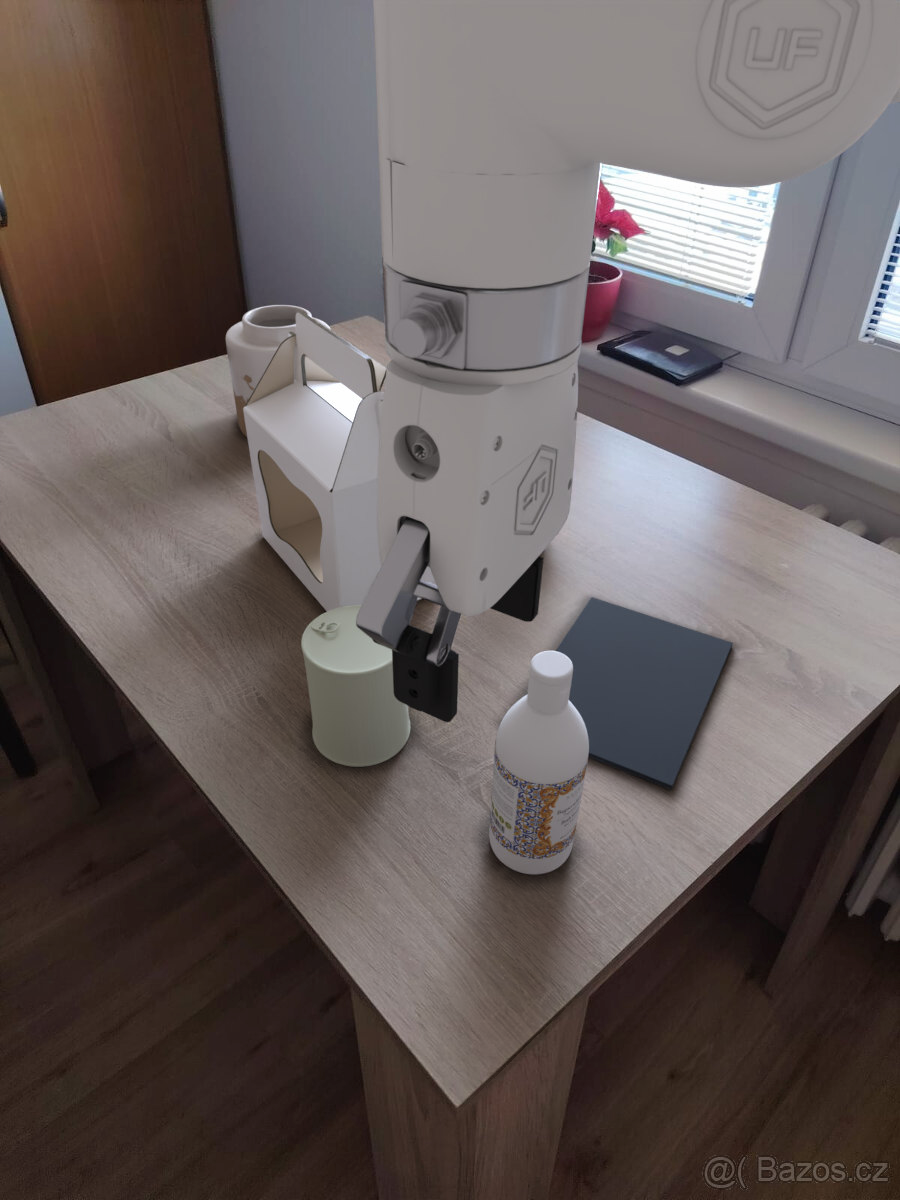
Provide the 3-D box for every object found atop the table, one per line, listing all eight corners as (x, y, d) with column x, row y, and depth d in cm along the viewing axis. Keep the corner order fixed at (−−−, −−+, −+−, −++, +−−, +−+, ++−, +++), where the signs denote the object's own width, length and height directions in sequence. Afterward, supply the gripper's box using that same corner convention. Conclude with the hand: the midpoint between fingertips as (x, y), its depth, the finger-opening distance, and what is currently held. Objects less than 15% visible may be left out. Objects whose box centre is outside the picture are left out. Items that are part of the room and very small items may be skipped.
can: (341, 684, 83) (333, 590, 75) (426, 711, 80) (425, 615, 73) (294, 749, 76) (279, 652, 69) (384, 780, 73) (378, 682, 66)
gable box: (445, 592, 95) (448, 357, 78) (343, 632, 89) (322, 387, 72) (354, 505, 109) (339, 291, 92) (261, 535, 104) (226, 312, 86)
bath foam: (534, 894, 65) (558, 716, 52) (471, 839, 69) (480, 662, 56) (589, 842, 69) (624, 665, 56) (526, 793, 72) (546, 618, 60)
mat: (671, 790, 73) (672, 786, 73) (507, 724, 79) (508, 720, 78) (731, 646, 88) (733, 642, 88) (591, 600, 94) (591, 596, 94)
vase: (288, 394, 136) (277, 291, 126) (359, 419, 130) (352, 312, 119) (218, 427, 127) (199, 319, 116) (290, 456, 120) (276, 344, 109)
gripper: (451, 421, 24) (444, 807, 34) (658, 267, 35) (604, 591, 46) (251, 364, 27) (303, 737, 37) (503, 240, 38) (487, 550, 49)
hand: (469, 654), depth 42 cm, fingers open, 7 cm apart
